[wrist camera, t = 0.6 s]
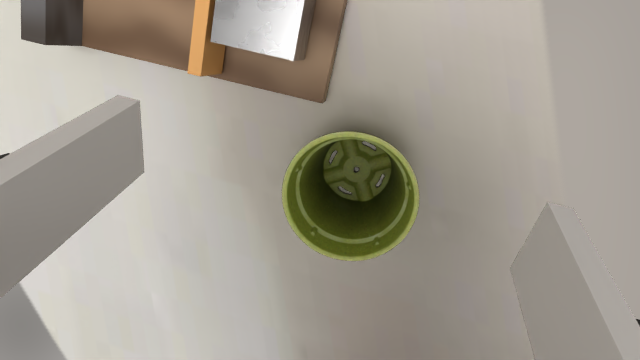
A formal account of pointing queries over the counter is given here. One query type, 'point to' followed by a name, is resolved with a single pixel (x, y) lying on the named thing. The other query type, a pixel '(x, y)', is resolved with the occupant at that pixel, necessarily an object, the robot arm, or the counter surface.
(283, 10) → the grey foam block
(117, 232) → the counter surface
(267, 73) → the gauge board
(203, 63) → the upright wooden plank
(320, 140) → the plant pot
